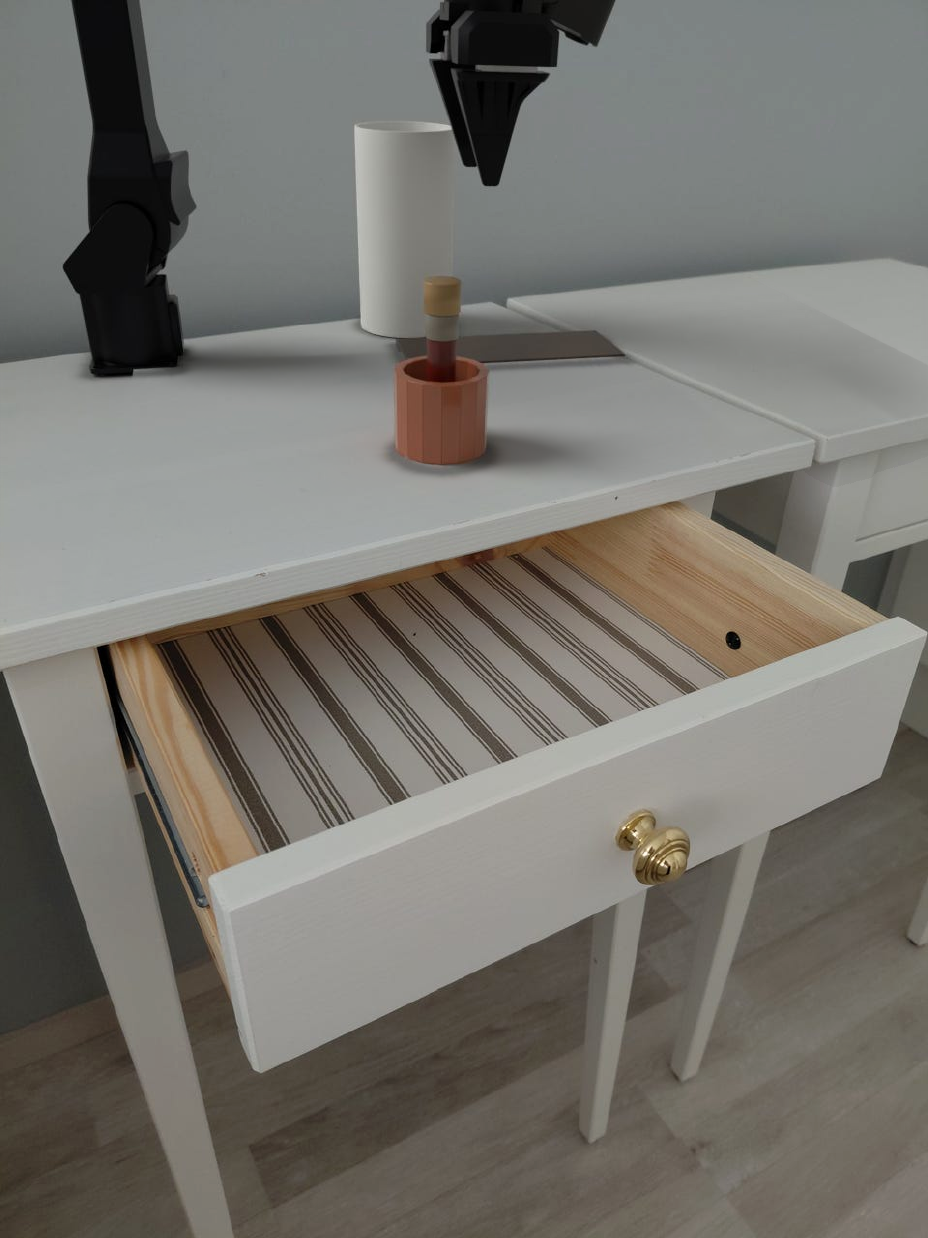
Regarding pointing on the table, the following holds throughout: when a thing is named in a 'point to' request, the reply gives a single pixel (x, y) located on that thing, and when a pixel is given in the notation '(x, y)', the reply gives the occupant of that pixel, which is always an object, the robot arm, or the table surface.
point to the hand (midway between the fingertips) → (480, 175)
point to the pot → (441, 412)
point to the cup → (402, 220)
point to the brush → (442, 326)
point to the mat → (522, 346)
